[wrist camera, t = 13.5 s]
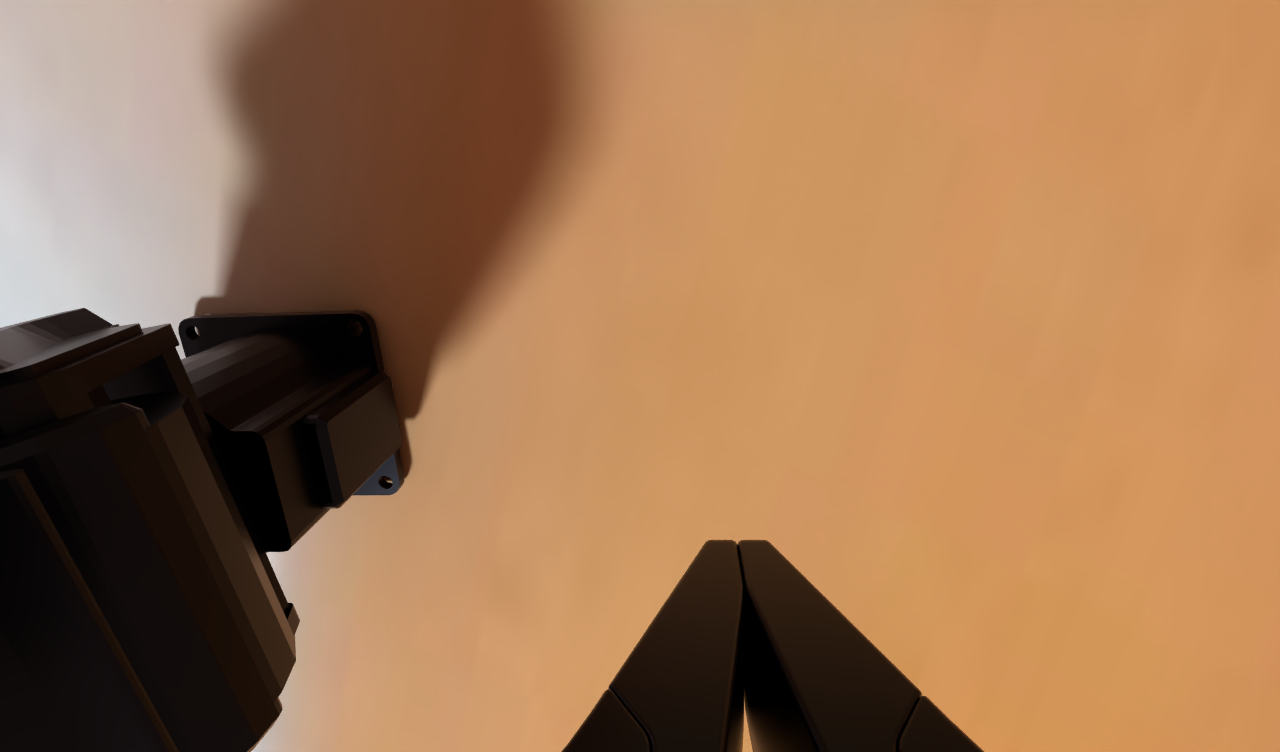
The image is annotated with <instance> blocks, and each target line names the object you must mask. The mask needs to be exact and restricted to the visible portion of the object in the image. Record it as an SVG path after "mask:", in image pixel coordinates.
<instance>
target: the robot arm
mask: <svg viewBox="0 0 1280 752" xmlns="http://www.w3.org/2000/svg"><path fill="white" fill-rule="evenodd" d="M354 321H357V322H359V323H360V324H361V326H362V328H363V332H362V333H359V332H358V331H356V330H355V328H354V326H353V324H354ZM195 327H197V328H198V329H199V331H200V332H201V337H200V336H199V335H198V334H197V333H196V331H195ZM178 329H179V335H180V339H181V342H182V346H183V349H184V352H185V356H186V358H184V359H182V360H181V359H180V357H179V355H178V352H177V350H176V348H175V347H176V346H178V345H179V342H178V340H177V338H176V335H175V333H174V331H173V329H172V326H171V324H164V325H159V326H154V327H148V328H143V329H141V327H140V324H139V323H138V324H131V325H124V326H119V324H117V325H112V324H110V323H109V322H107V321H105V320H104V319H102V318H100V317H99V316H97V315H95V314H94V313H92V312H90V311H89V310H87V309H85V308H82V309H77V310H72V311H67V312H62V313H58V314H54V315H50V316H46V317H42V318H38V319H34V320H30V321H26V322H22V323H18V324H14V325H10V326H6V327H2V328H0V752H251V751H252V750H253V749H254V748H255V747H256V745H257V744H258V743H259V742H260V740H261V739H262V738H263V737H264V736H265V734H266V733H267V732H268V731H269V729H270V728H271V727H272V726H273V724H274V723H275V721H276V720H277V718H278V717H279V715H280V713H281V711H282V704H281V702H280V700H279V698H278V697H279V695H280V694H281V692H282V690H283V688H284V686H285V684H286V681H287V679H288V677H289V675H290V673H291V670H292V668H293V666H294V664H295V661H296V650H295V637H294V636H295V633H296V630H297V627H298V625H299V622H300V619H299V617H298V615H297V612H296V610H295V608H294V606H293V604H292V603H287V600H286V598H285V596H284V593H283V591H282V589H281V587H280V584H279V582H278V580H277V578H276V575H275V573H274V571H273V568H272V566H271V564H270V562H269V559H268V557H267V555H266V553H267V552H284V551H288V550H289V549H290V548H291V547H292V546H293V545H294V544H295V543H296V542H297V541H298V540H299V539H300V538H301V537H302V536H303V535H304V534H305V533H306V532H307V531H308V530H309V529H310V528H311V527H312V526H313V525H314V524H315V523H316V522H318V521H319V520H320V519H321V518H322V517H323V516H324V515H325V514H326V513H327V512H328V511H329V510H330V509H331V508H340V507H341V506H342V505H343V504H344V503H345V502H346V501H347V500H348V499H349V498H350V497H351V496H352V495H391V494H394V493H395V492H397V491H398V490H399V489H400V487H401V486H402V485H403V483H404V473H403V467H402V462H401V457H400V451H399V447H400V446H401V445H402V438H401V433H400V427H399V422H398V416H397V411H396V406H395V400H394V395H393V389H392V384H391V379H390V377H389V376H388V375H387V374H386V373H385V371H384V366H383V361H382V355H381V350H380V345H379V339H378V334H377V329H376V324H375V322H374V319H373V318H372V317H371V316H370V315H369V314H368V313H366V312H364V311H359V310H355V311H322V312H290V313H257V314H225V315H197V316H193V317H190V318H187V319H184V320H183V321H182V322H181V323H180V325H179V328H178ZM384 476H388V477H389V478H391V480H392V482H393V483H388V482H387V481H386V480H385V479H384ZM744 701H745V710H746V716H747V722H748V728H749V734H750V739H751V744H752V749H753V752H984V751H983V750H982V749H981V748H980V747H979V746H978V745H976V744H975V743H974V742H973V741H972V740H971V739H970V738H969V737H968V736H967V735H966V734H965V733H964V732H963V731H962V730H960V729H959V728H958V727H957V726H956V725H955V724H954V723H953V722H952V721H951V720H950V719H949V718H948V717H947V716H946V715H945V714H944V713H943V712H942V711H941V710H940V709H939V708H938V707H937V706H935V705H934V704H933V703H932V702H931V701H930V700H929V699H928V698H927V697H926V696H922V693H921V691H920V690H919V689H918V688H917V687H916V686H915V685H914V684H913V683H912V682H911V681H910V680H909V679H908V678H907V677H906V676H905V675H904V674H903V673H902V672H901V671H900V670H899V669H898V668H897V667H896V666H895V665H894V664H892V663H891V662H890V661H889V660H888V659H887V658H886V657H885V656H884V655H883V654H882V653H881V652H880V651H879V650H878V649H877V648H876V647H875V646H874V645H873V644H872V643H871V642H870V641H869V640H868V639H867V638H866V637H865V636H864V635H863V634H862V633H861V632H860V631H859V630H858V629H857V628H856V627H855V626H854V625H853V624H852V623H851V622H850V621H849V620H848V619H847V618H846V617H845V616H844V615H843V614H842V613H841V612H840V611H839V610H838V609H837V608H836V607H835V606H834V605H833V604H832V603H831V602H830V601H829V600H828V599H827V598H826V597H824V596H823V595H822V594H821V593H820V592H819V591H818V590H817V589H816V588H815V587H814V586H813V585H812V584H811V583H810V582H809V581H808V580H807V579H806V578H805V577H804V576H803V575H802V574H801V573H800V572H799V571H798V570H797V569H796V568H795V567H794V566H793V565H792V564H791V563H790V562H789V561H788V560H787V559H786V558H785V557H784V556H783V555H782V554H781V553H780V552H779V551H778V550H777V549H776V548H775V547H774V546H773V545H772V544H771V543H770V542H768V541H766V540H741V541H739V542H738V544H736V542H735V541H733V540H708V541H707V542H706V543H705V544H704V545H703V547H702V548H701V550H700V551H699V553H698V554H697V556H696V557H695V559H694V560H693V562H692V563H691V565H690V566H689V568H688V569H687V571H686V572H685V574H684V575H683V577H682V578H681V580H680V581H679V583H678V584H677V586H676V587H675V589H674V590H673V592H672V593H671V594H670V596H669V597H668V599H667V600H666V602H665V603H664V605H663V606H662V608H661V609H660V611H659V612H658V614H657V615H656V617H655V618H654V620H653V621H652V623H651V624H650V626H649V627H648V629H647V630H646V632H645V633H644V635H643V636H642V638H641V639H640V641H639V642H638V644H637V645H636V647H635V648H634V649H633V651H632V652H631V654H630V655H629V657H628V658H627V660H626V661H625V663H624V664H623V666H622V667H621V669H620V670H619V672H618V673H617V675H616V676H615V678H614V679H613V681H612V682H611V684H610V685H609V689H608V690H606V691H605V692H604V694H603V695H602V697H601V698H600V700H599V701H598V703H597V704H596V706H595V707H594V709H593V710H592V712H591V713H590V714H589V716H588V717H587V718H586V720H585V721H584V723H583V724H582V725H581V727H580V728H579V729H578V731H577V732H576V734H575V735H574V736H573V738H572V739H571V740H570V742H569V743H568V745H567V746H566V747H565V748H564V749H563V751H562V752H742V748H743V729H744Z"/></svg>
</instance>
